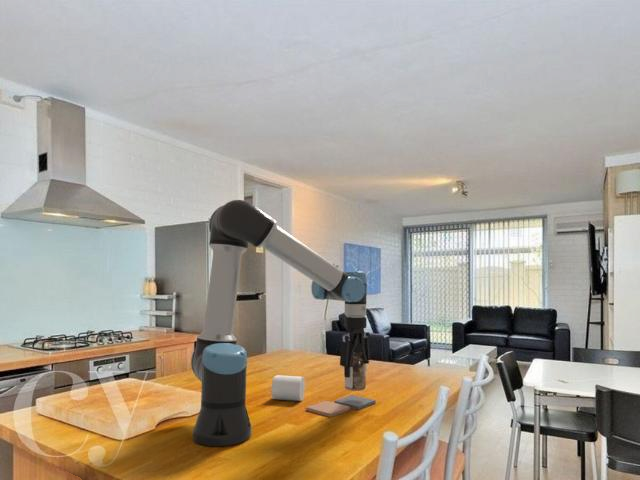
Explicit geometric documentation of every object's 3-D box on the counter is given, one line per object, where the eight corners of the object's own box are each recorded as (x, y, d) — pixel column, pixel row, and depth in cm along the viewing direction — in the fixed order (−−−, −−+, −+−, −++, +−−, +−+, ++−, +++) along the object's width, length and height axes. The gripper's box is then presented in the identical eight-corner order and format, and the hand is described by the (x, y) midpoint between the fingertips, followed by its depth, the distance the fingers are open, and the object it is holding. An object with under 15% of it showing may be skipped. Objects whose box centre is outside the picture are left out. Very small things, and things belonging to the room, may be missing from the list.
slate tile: (358, 409, 143) (358, 406, 143) (334, 403, 149) (334, 400, 149) (375, 403, 150) (375, 400, 150) (351, 397, 157) (351, 394, 157)
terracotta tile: (330, 417, 135) (330, 413, 135) (305, 410, 141) (306, 407, 141) (349, 409, 142) (349, 406, 143) (325, 403, 149) (325, 400, 149)
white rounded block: (299, 403, 149) (299, 379, 149) (270, 401, 151) (271, 377, 151) (307, 394, 161) (307, 372, 161) (281, 392, 163) (281, 370, 163)
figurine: (341, 386, 152) (341, 351, 153) (359, 384, 155) (359, 349, 156) (350, 391, 146) (350, 354, 147) (369, 389, 148) (369, 353, 149)
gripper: (346, 319, 142) (346, 392, 140) (380, 315, 157) (380, 381, 155) (328, 317, 147) (328, 388, 145) (363, 313, 162) (363, 378, 160)
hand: (355, 384), depth 150 cm, fingers closed on figurine, 7 cm apart
